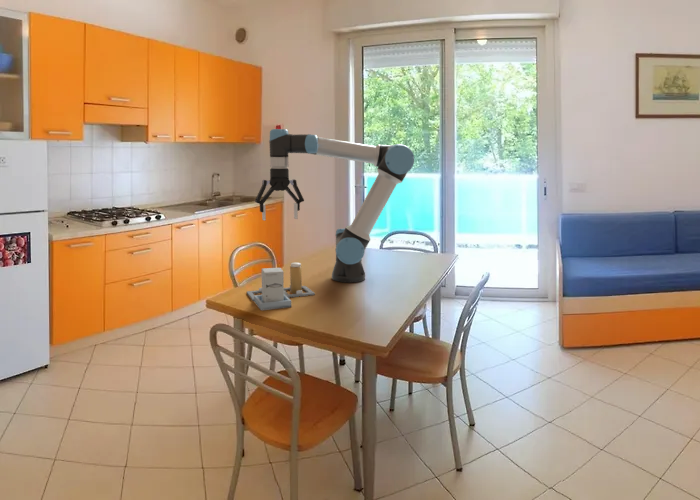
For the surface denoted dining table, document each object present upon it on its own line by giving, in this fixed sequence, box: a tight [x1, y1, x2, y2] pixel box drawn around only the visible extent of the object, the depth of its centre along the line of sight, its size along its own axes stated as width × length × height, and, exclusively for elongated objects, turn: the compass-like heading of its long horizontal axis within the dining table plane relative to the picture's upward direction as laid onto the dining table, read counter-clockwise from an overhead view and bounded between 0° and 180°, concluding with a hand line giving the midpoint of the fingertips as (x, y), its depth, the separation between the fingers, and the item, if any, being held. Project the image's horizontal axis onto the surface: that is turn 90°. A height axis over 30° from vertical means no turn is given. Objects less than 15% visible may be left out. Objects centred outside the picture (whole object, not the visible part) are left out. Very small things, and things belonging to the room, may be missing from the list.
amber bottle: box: [289, 262, 303, 294], centre depth 209 cm, size 5×5×12 cm
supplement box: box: [261, 267, 285, 303], centre depth 193 cm, size 7×7×13 cm
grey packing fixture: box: [246, 285, 316, 302], centre depth 208 cm, size 25×12×2 cm, turn 112°
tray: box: [253, 294, 292, 311], centre depth 194 cm, size 11×11×2 cm
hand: (280, 219), depth 215 cm, fingers open, 13 cm apart
